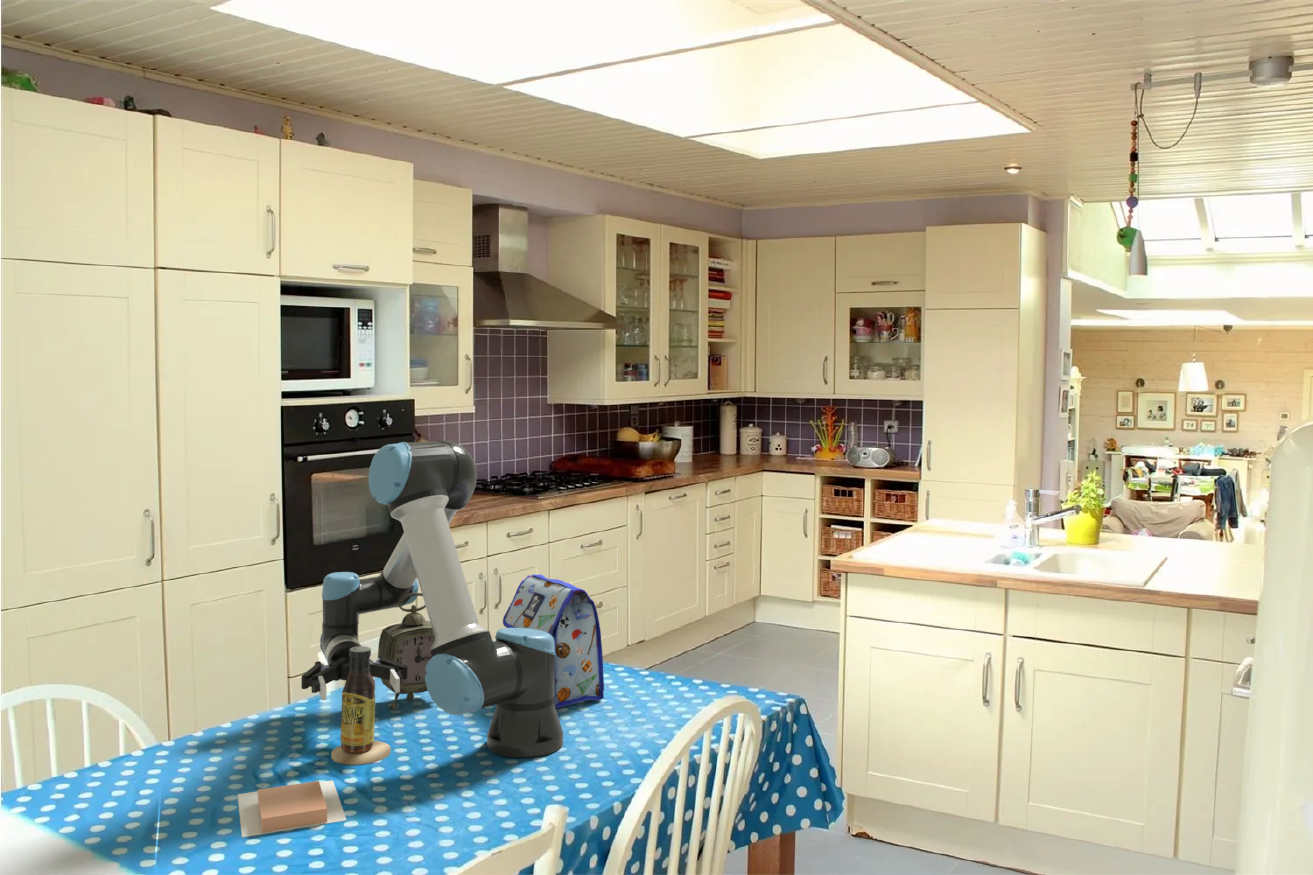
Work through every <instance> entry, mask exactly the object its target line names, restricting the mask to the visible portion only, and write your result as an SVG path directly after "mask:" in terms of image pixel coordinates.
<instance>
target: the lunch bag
mask: <svg viewBox="0 0 1313 875" xmlns="http://www.w3.org/2000/svg"><path fill="white" fill-rule="evenodd" d="M595 603H596V602H595V601H594V600H593V599H592V598H591V597H590V596H589V594H588V593H587V591H586V590H585V589H582V588H579V587H576V586H575V585H573V584H571V583H570V582H565V581H563V580H561V579H558V578H557V579H553V578H547V577H545V575H543V574H532V575H529V574H528V575H527V576H526V577H525V578H524V579H523V580H521V582H520V583H519V585H518V586H517V589H516V591H515V593H514V596H513V598H512V600H511V603H510V604H509V606H508V608H507V610H506V612H505V614H504V615H503V618H502V624H503V626H504V628H528V629H535V630H541V631H544V632H547V633H549V634H551V635H552V637H553V638H554V646H555V653H556V655H555V708H556V709H559V708H565V707H568V706H571V705H572V706H573V705H576V704H579V703H582V702H585V701H601V700H603V699H604V695H605V694H604V691H605V679H604V657H603V656H604V655H603V646H602V632H601V625H600V620H599V619H600V618H599V615H598V611H597V608H596V604H595Z"/></svg>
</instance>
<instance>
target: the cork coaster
mask: <svg viewBox="0 0 1313 875" xmlns="http://www.w3.org/2000/svg"><path fill="white" fill-rule="evenodd" d="M391 749H392V748H391V746H390V745H389V744H388V743H386V742H383V741H379V740H374V741H373V746H372V748H371V749H370V750H368V751H365V752H362V753H348V752H345V751H343V750H342V748H341V745H339V746H337V747H335V748H334V749H333V750H331V760H332V761H334V762H335V763H338V764H342V765H348V766H349V765H352V766H353V765H354V766H355V765H357V766H358V765H368V764H374V763H376V762H379V761H382V760H385V759H386V758H388V757H389V756H390V754H391V751H392V750H391Z"/></svg>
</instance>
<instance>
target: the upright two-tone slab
mask: <svg viewBox="0 0 1313 875" xmlns="http://www.w3.org/2000/svg"><path fill="white" fill-rule="evenodd" d="M319 782H320V781H319V780H315V781H309V782H300V783H295V784H288V785H287V784H286V785H282V786H274V787H268V788H260V789H256V790H257V791H256V792H257V800H258V809H259V816H260V822H261V829H262V832H263V833H264V832H271V831H277V830H283V829H289V828H295V827H301V826H307V825H314V824H320V823H326V822H327V806H326V803H325V800H324V796H323V793H322V790H321V787H320V783H319Z"/></svg>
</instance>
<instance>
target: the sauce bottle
mask: <svg viewBox="0 0 1313 875" xmlns="http://www.w3.org/2000/svg"><path fill="white" fill-rule="evenodd" d="M371 655H372V648H371V647H368V646H362V645H361V646H358V647H353V648H351V649H350V650H349V657H350V668H349V673H348V676H347V679H346V680H345V682H344V686H343V690H342V691H341V713H340V714H341V716H340V719H341V720H340V722H341V723H340V744H341V745H340V746H341V748H342V750H343V751H345V752H348V753H362V752H365V751H368V750H370V749H371V748H372V746H373V741H375V724H376V723H375V721H376V720H375V719H376V717H375V716H376V715H375V714H376V681H375V679H374V677H372V676H371V673H370V667H369V663H370V660H371Z"/></svg>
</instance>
